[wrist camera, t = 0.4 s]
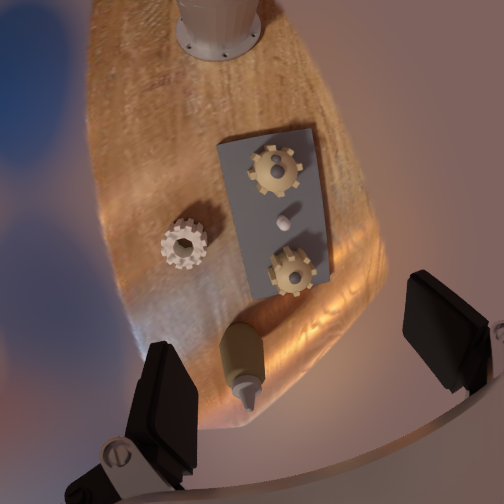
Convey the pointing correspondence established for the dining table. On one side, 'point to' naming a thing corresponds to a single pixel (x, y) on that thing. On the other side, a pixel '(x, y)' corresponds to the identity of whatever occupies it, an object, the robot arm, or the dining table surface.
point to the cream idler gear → (180, 253)
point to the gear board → (277, 211)
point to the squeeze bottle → (243, 362)
